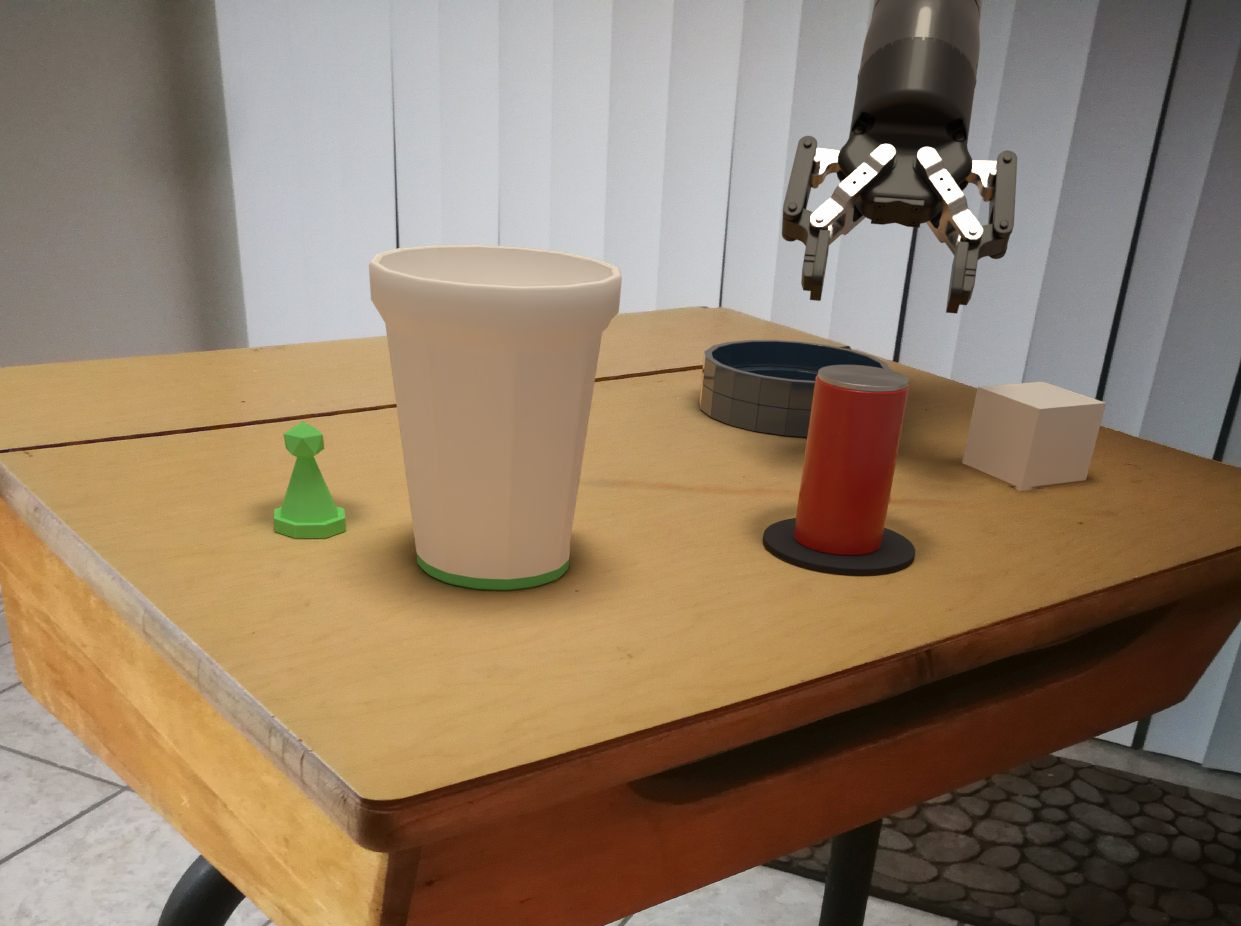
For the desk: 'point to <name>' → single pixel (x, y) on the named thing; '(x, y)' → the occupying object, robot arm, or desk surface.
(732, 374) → the dish
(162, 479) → the desk surface
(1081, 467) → the beige cube
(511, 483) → the cup
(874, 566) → the coaster
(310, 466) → the game piece
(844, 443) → the can
